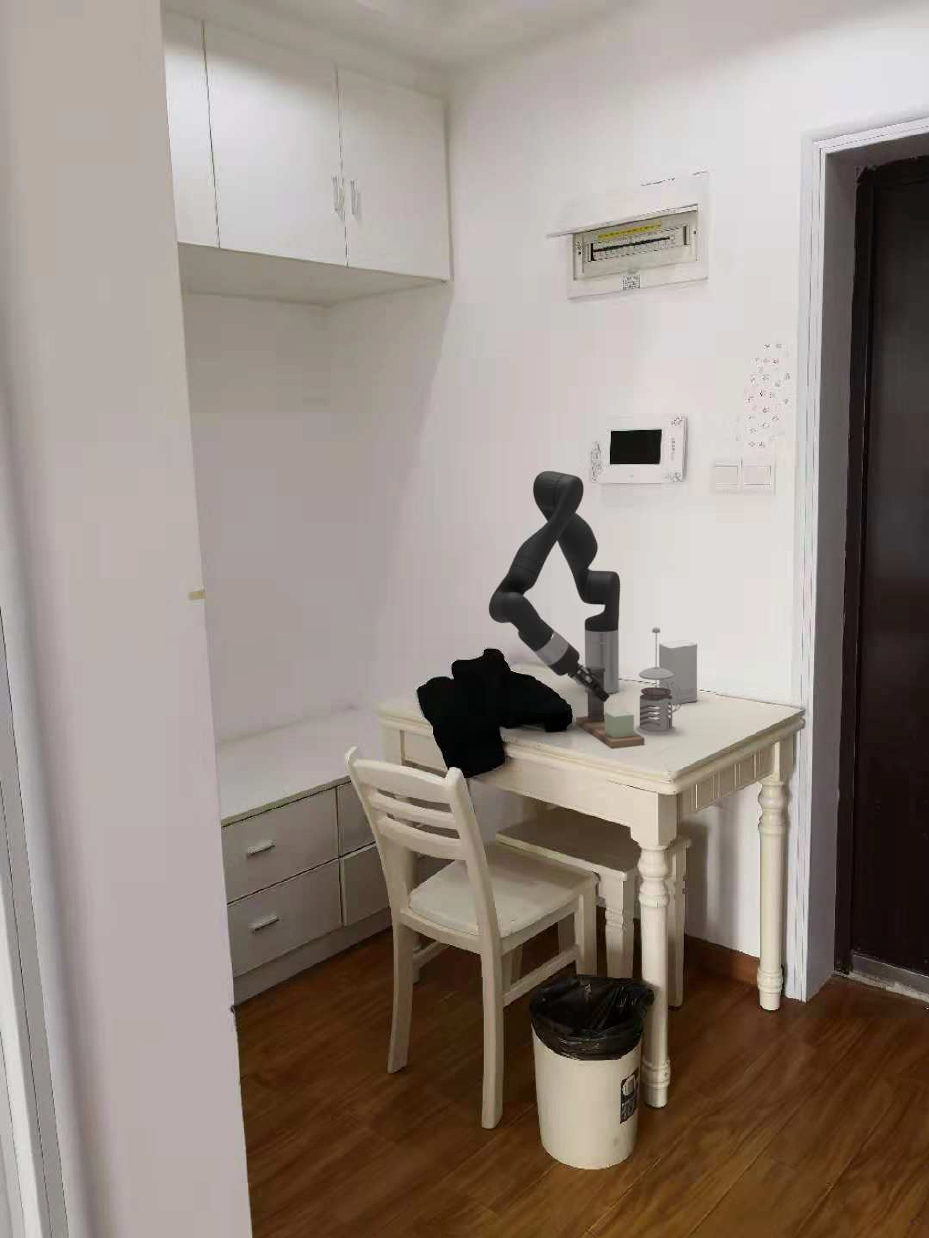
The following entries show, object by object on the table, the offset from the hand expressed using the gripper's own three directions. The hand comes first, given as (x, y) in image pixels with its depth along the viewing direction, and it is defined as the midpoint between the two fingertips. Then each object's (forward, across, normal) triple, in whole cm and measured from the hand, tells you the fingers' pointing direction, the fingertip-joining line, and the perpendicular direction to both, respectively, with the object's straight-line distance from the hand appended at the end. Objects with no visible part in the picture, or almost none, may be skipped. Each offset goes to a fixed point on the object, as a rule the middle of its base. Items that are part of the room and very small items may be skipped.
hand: (603, 696), depth 255 cm
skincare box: (+24, +14, -14) cm, 31 cm away
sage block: (+2, -14, +5) cm, 15 cm away
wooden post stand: (+3, -8, +6) cm, 11 cm away
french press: (+12, -10, -2) cm, 16 cm away
